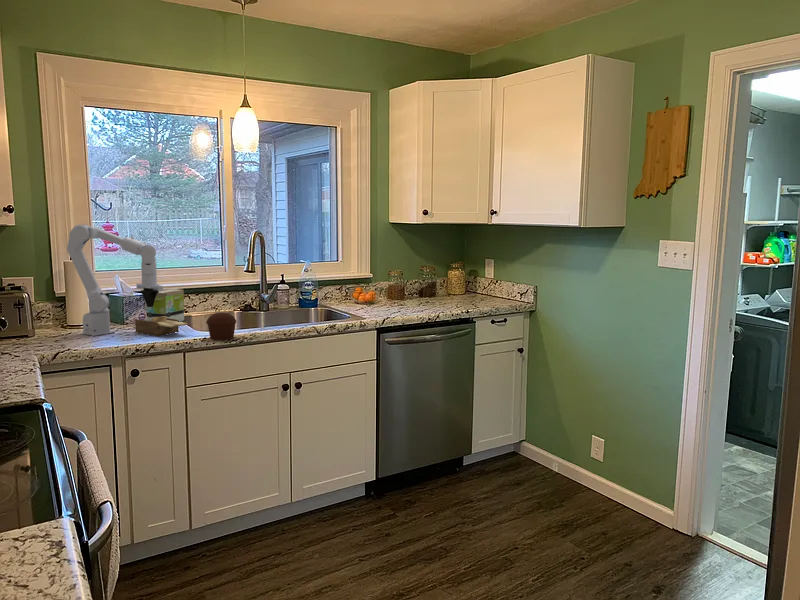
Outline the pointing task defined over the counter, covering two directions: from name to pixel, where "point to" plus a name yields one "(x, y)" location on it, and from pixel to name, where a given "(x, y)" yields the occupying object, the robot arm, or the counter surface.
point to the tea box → (167, 305)
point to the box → (154, 328)
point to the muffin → (221, 326)
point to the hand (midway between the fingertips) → (150, 306)
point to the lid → (167, 322)
